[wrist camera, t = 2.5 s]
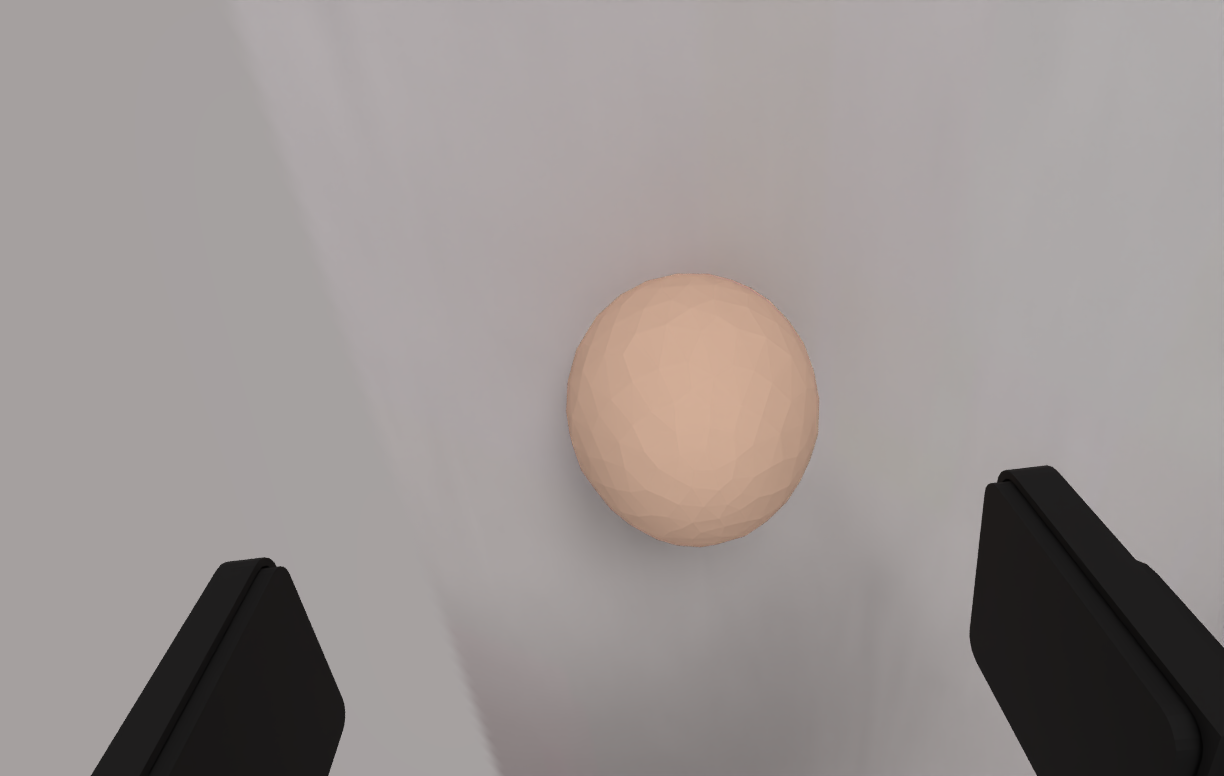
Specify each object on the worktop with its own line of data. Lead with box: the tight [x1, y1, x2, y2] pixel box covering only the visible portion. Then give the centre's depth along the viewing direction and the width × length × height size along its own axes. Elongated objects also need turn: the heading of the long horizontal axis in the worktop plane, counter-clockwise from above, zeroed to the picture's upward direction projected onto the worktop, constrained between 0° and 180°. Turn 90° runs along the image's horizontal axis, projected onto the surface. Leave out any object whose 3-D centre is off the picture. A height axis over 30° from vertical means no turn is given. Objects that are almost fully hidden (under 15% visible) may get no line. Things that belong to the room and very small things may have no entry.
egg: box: [566, 274, 819, 547], centre depth 14 cm, size 4×4×6 cm
